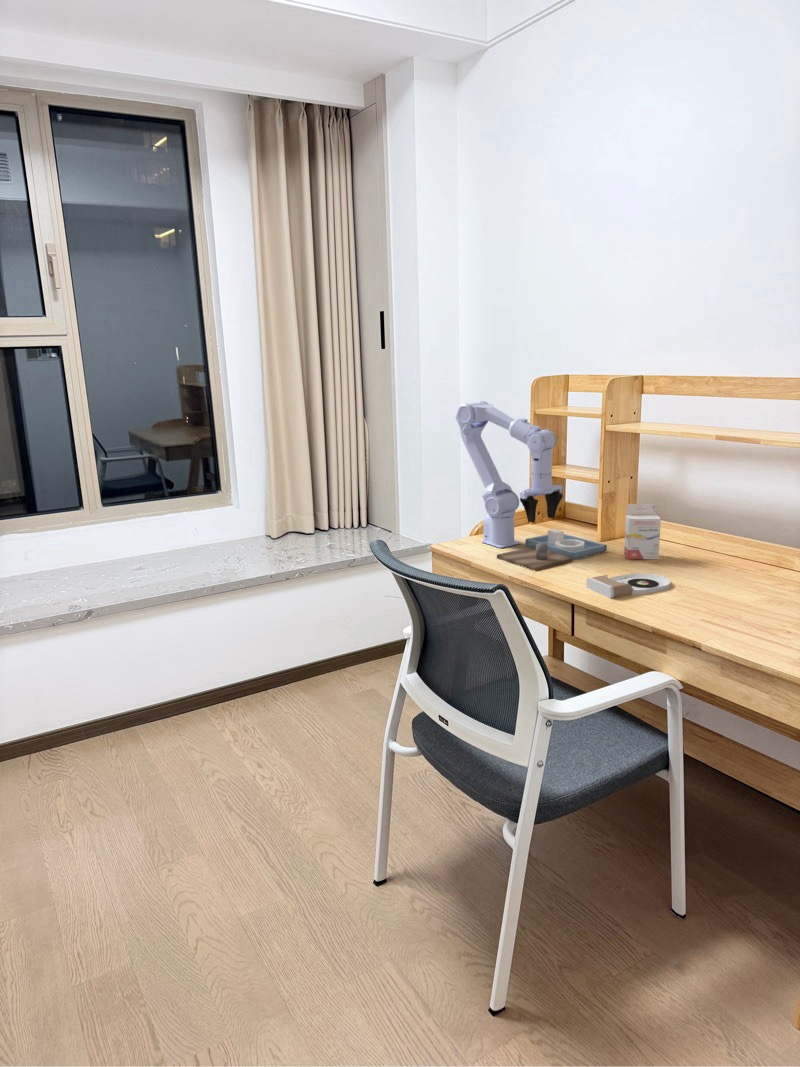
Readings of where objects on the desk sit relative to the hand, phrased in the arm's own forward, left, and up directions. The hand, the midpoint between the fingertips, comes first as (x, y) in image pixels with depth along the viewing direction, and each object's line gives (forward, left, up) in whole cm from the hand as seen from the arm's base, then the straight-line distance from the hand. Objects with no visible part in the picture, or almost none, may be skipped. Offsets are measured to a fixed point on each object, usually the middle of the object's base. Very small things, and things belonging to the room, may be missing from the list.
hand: (541, 519), depth 215 cm
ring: (+2, +7, -9) cm, 12 cm away
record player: (+38, -5, -10) cm, 39 cm away
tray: (+2, +7, -9) cm, 12 cm away
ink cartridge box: (+22, +17, -10) cm, 30 cm away
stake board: (+5, -7, -9) cm, 13 cm away
